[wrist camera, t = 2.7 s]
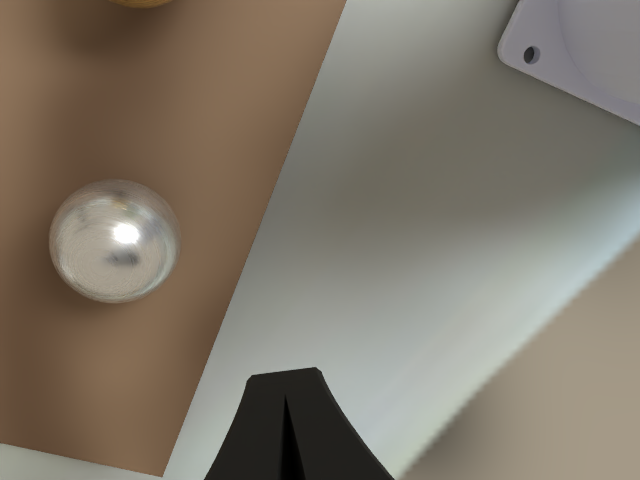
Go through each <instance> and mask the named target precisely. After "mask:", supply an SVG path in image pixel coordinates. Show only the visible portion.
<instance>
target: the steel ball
mask: <svg viewBox="0 0 640 480" xmlns="http://www.w3.org/2000/svg"><path fill="white" fill-rule="evenodd" d="M180 250H181V232H180V227H179V223H178V220H177V218H176V216H175V214H174V212H173V210H172V209H171V207H170V206H169V205H168V203H167V202H166V201H165V200H164V199H163V198H162V197H161V196H160V195H159V194H158V193H156V192H155V191H153V190H152V189H150V188H148V187H146V186H144V185H142V184H139V183H137V182H133V181H129V180H123V179H107V180H101V181H97V182H93V183H91V184H88V185H85V186H84V187H82V188H80V189H78V190H77V191H75V192H74V193H73V194H71V195H70V196H69V197H68V198H67V199H66V200H65V201H64V202H63V203H62V205H61V206H60V207H59V209H58V210H57V212H56V214H55V216H54V218H53V221H52V224H51V227H50V232H49V251H50V255H51V259H52V262H53V264H54V266H55V268H56V270H57V272H58V274H59V275H60V277H61V278H62V279H63V280H64V282H65V283H66V284H67V285H69V286H70V287H71V288H72V289H73V290H75V291H76V292H78V293H79V294H81V295H83V296H85V297H87V298H89V299H92V300H95V301H99V302H104V303H125V302H130V301H135V300H138V299H140V298H143V297H145V296H147V295H149V294H151V293H152V292H154V291H155V290H157V289H158V288H159V287H160V286H161V285H162V284H163V283H164V282H165V281H166V280H167V279H168V278H169V277H170V275H171V274H172V272H173V270H174V268H175V266H176V264H177V262H178V259H179V255H180Z"/></svg>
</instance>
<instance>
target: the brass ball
mask: <svg viewBox="0 0 640 480" xmlns="http://www.w3.org/2000/svg"><path fill="white" fill-rule="evenodd" d="M109 1H111V2H113V3H116V4H119V5H122V6H126V7H131V8H152V7H157V6H160V5H163V4H166V3H168V2H170V1H172V0H109Z"/></svg>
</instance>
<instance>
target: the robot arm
mask: <svg viewBox="0 0 640 480" xmlns="http://www.w3.org/2000/svg"><path fill="white" fill-rule="evenodd" d="M529 47H532V48H533V49H534V57H533V59H532V60H531V61H530V62H528V63H526V62H525V61H524V57H523V56H524V52H525V51H526V49H527V48H529ZM497 51H498V56H499V58H500V60H501V61H502V62H503V63H504V64H506V65H508V66H510V67H513V68H515V69H517V70H519V71H521V72H523V73H526V74H528V75H530V76H532V77H534V78H537V79H539V80H541V81H543V82H545V83H547V84H550V85H552V86H554V87H556V88H558V89H560V90H563V91H565V92H567V93H569V94H571V95H574V96H576V97H578V98H580V99H582V100H584V101H587V102H589V103H591V104H593V105H595V106H597V107H600V108H602V109H604V110H606V111H608V112H611V113H613V114H615V115H617V116H619V117H621V118H624V119H626V120H628V121H630V122H632V123H634V124H637V125H639V126H640V0H519V2H518V4H517V6H516V8H515V10H514V12H513V14H512V16H511V18H510V21H509V23H508V25H507V27H506V29H505V31H504V33H503V35H502V37H501V39H500V41H499V44H498V48H497ZM204 480H395V479H394V478H393V477H392V476H391V475H390V474H389V473H388V471H387V470H386V469H385V468H384V467H383V465H382V464H381V463H380V462H379V461H378V459H377V458H376V457H375V456H374V454H373V453H372V452H371V451H370V449H369V448H368V447H367V445H366V444H365V443H364V441H363V440H362V439H361V437H360V436H359V435H358V433H357V432H356V430H355V429H354V428H353V426H352V425H351V423H350V422H349V421H348V419H347V418H346V416H345V415H344V413H343V412H342V410H341V408H340V407H339V405H338V403H337V402H336V400H335V399H334V397H333V395H332V393H331V391H330V390H329V388H328V386H327V384H326V382H325V379H324V377H323V375H322V372H321V371H320V370H319V369H317V368H316V367H312V368H304V369H296V370H288V371H280V372H272V373H264V374H257V375H252V376H251V377H250V378H249V379H248V380H247V383H246V387H245V390H244V393H243V396H242V399H241V402H240V405H239V407H238V410H237V412H236V415H235V417H234V420H233V422H232V425H231V427H230V429H229V431H228V433H227V435H226V437H225V440H224V442H223V444H222V446H221V448H220V450H219V452H218V454H217V456H216V458H215V460H214V462H213V464H212V466H211V468H210V470H209V471H208V473H207V475H206V477H205V479H204Z"/></svg>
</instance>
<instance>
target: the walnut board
mask: <svg viewBox="0 0 640 480" xmlns="http://www.w3.org/2000/svg"><path fill="white" fill-rule="evenodd" d="M346 1H347V0H172V1H170V2H168V3H166V4H163V5H160V6H157V7H152V8H131V7H126V6H122V5H119V4H116V3H113V2H111V1H109V0H0V443H4V444H8V445H13V446H18V447H22V448H27V449H32V450H37V451H41V452H46V453H51V454H55V455H60V456H65V457H69V458H74V459H79V460H84V461H88V462H93V463H98V464H102V465H107V466H112V467H117V468H121V469H126V470H131V471H135V472H140V473H145V474H149V475H154V476H159V477H163V474H164V472H165V469H166V466H167V464H168V461H169V459H170V456H171V453H172V451H173V448H174V446H175V443H176V440H177V438H178V435H179V433H180V430H181V428H182V425H183V422H184V420H185V417H186V415H187V412H188V409H189V407H190V404H191V402H192V399H193V396H194V394H195V391H196V389H197V386H198V384H199V381H200V378H201V376H202V373H203V371H204V368H205V365H206V363H207V360H208V358H209V355H210V352H211V350H212V347H213V345H214V342H215V340H216V337H217V334H218V332H219V329H220V327H221V324H222V321H223V319H224V316H225V314H226V311H227V308H228V306H229V303H230V301H231V298H232V296H233V293H234V290H235V288H236V285H237V283H238V280H239V277H240V275H241V272H242V270H243V267H244V265H245V262H246V259H247V257H248V254H249V252H250V249H251V246H252V244H253V241H254V239H255V236H256V233H257V231H258V228H259V226H260V223H261V221H262V218H263V215H264V213H265V210H266V208H267V205H268V202H269V200H270V197H271V195H272V192H273V189H274V187H275V184H276V182H277V179H278V177H279V174H280V171H281V169H282V166H283V164H284V161H285V158H286V156H287V153H288V151H289V148H290V145H291V143H292V140H293V138H294V135H295V133H296V130H297V127H298V125H299V122H300V120H301V117H302V114H303V112H304V109H305V107H306V104H307V101H308V99H309V96H310V94H311V91H312V89H313V86H314V83H315V81H316V78H317V76H318V73H319V70H320V68H321V65H322V63H323V60H324V58H325V55H326V52H327V50H328V47H329V45H330V42H331V39H332V37H333V34H334V32H335V29H336V26H337V24H338V21H339V19H340V16H341V14H342V11H343V8H344V6H345V3H346ZM107 179H123V180H129V181H133V182H137V183H139V184H142V185H144V186H146V187H148V188H150V189H152V190H153V191H155V192H156V193H158V194H159V195H160V196H161V197H162V198H163V199H164V200H165V201H166V202H167V203H168V205H169V206H170V207H171V209H172V210H173V212H174V214H175V216H176V218H177V220H178V223H179V227H180V232H181V250H180V255H179V259H178V262H177V264H176V266H175V268H174V270H173V272H172V274H171V275H170V277H169V278H168V279H167V280H166V281H165V282H164V283H163V284H162V285H161V286H160V287H159V288H158V289H157V290H155V291H154V292H152V293H151V294H149V295H147V296H145V297H143V298H140V299H138V300H135V301H130V302H125V303H104V302H99V301H95V300H92V299H89V298H87V297H85V296H83V295H81V294H79V293H78V292H76V291H75V290H73V289H72V288H71V287H70V286H69V285H67V284H66V283H65V282H64V280H63V279H62V278H61V277H60V275H59V274H58V272H57V270H56V268H55V266H54V264H53V262H52V259H51V255H50V251H49V232H50V227H51V224H52V221H53V218H54V216H55V214H56V212H57V210H58V209H59V207H60V206H61V205H62V203H63V202H64V201H65V200H66V199H67V198H68V197H69V196H70V195H71V194H73V193H74V192H75V191H77V190H78V189H80V188H82V187H84V186H85V185H88V184H91V183H93V182H97V181H101V180H107Z"/></svg>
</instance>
